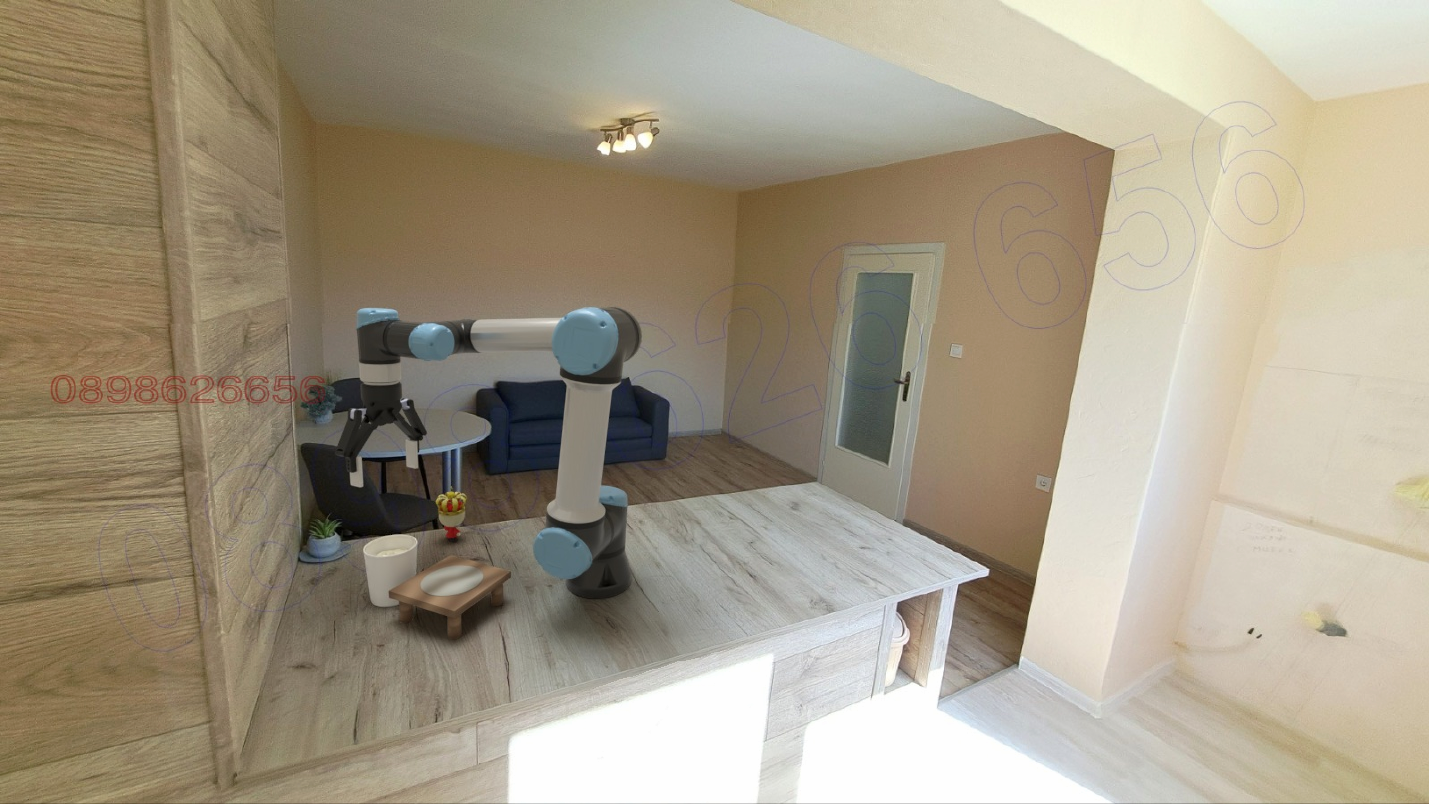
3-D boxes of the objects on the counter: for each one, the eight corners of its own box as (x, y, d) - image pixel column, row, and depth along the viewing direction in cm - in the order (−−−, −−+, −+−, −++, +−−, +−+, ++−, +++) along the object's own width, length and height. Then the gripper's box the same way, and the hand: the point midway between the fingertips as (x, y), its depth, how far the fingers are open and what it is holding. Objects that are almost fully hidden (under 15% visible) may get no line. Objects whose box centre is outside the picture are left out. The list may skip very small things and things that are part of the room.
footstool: (510, 600, 117) (511, 570, 116) (455, 644, 102) (454, 610, 101) (451, 583, 122) (451, 554, 121) (390, 622, 107) (388, 589, 106)
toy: (473, 539, 142) (472, 486, 139) (447, 549, 136) (445, 493, 133) (457, 531, 146) (456, 479, 143) (431, 540, 140) (429, 486, 137)
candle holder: (395, 613, 110) (392, 559, 108) (354, 604, 112) (351, 551, 109) (429, 588, 119) (428, 538, 117) (391, 580, 121) (389, 531, 119)
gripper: (417, 372, 128) (420, 458, 132) (308, 388, 104) (316, 491, 109) (441, 376, 125) (444, 463, 130) (336, 393, 102) (343, 498, 107)
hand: (386, 476), depth 119 cm, fingers open, 13 cm apart
